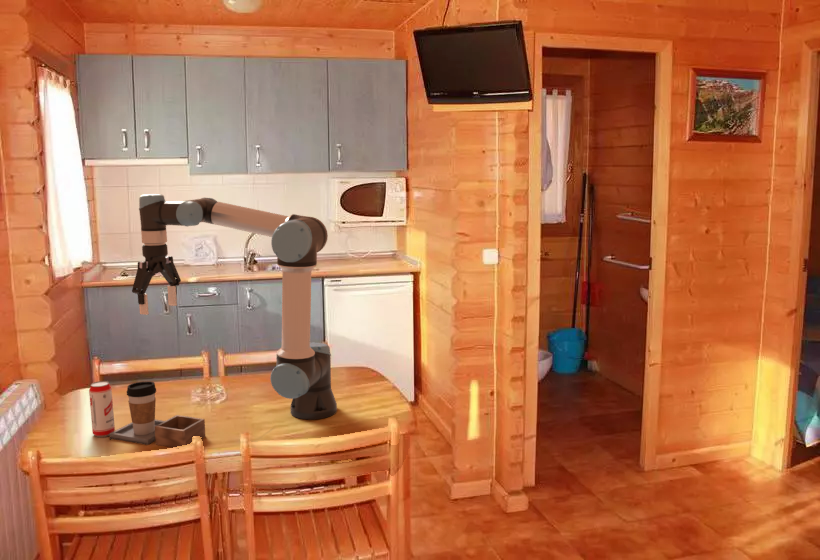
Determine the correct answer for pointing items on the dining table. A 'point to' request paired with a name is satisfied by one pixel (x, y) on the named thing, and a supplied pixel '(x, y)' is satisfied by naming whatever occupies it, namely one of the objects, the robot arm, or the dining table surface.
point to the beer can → (101, 408)
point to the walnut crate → (179, 431)
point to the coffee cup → (142, 406)
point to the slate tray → (128, 434)
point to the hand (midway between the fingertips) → (158, 309)
